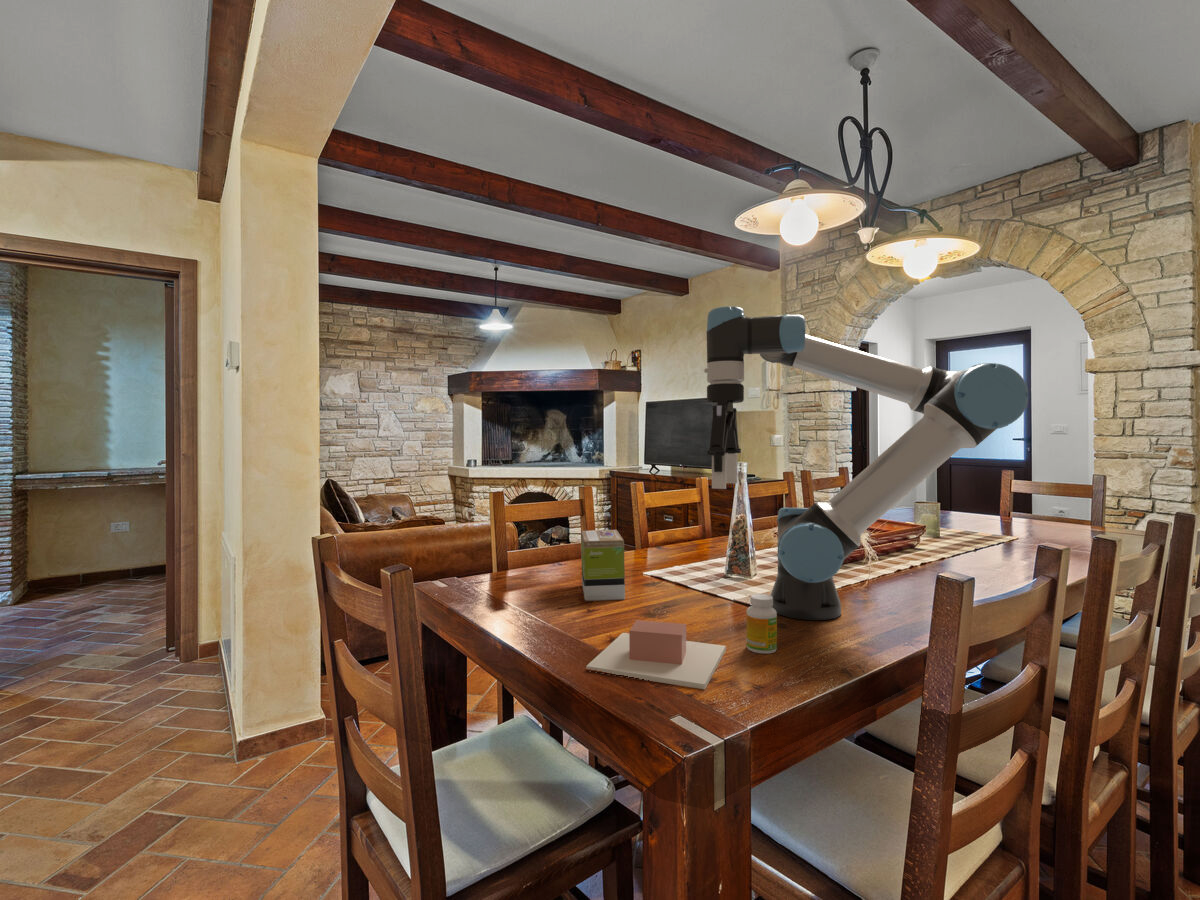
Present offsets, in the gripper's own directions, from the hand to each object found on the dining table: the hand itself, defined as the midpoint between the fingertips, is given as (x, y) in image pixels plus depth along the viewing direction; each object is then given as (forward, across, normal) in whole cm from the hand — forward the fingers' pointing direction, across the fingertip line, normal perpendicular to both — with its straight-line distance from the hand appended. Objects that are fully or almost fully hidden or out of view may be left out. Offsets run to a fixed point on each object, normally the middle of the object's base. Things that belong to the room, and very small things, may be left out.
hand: (725, 486), depth 124 cm
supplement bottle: (+29, +13, +9) cm, 33 cm away
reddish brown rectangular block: (+28, +25, -7) cm, 38 cm away
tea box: (+29, -13, -33) cm, 46 cm away
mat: (+29, +25, -7) cm, 39 cm away
